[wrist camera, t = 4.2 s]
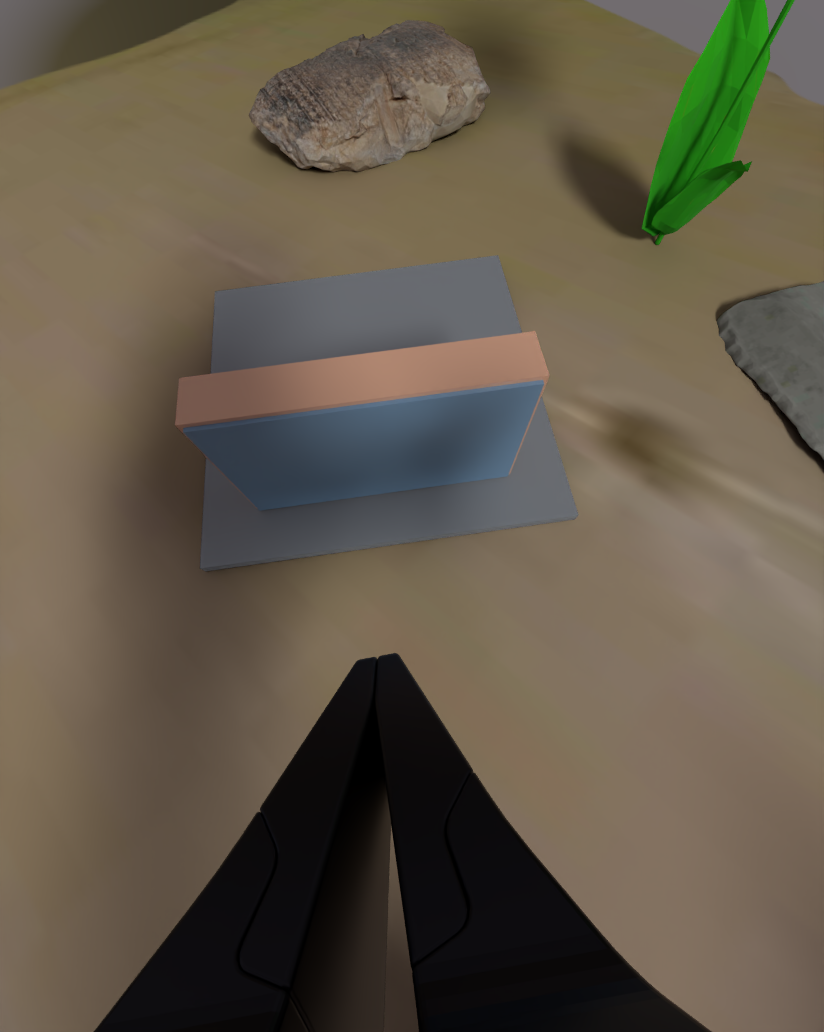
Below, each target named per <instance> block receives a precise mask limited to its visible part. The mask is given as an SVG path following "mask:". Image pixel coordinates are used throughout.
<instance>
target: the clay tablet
mask: <svg viewBox="0 0 824 1032" xmlns="http://www.w3.org/2000/svg"><path fill="white" fill-rule="evenodd" d="M444 31H445V29H444V28H443V27H441V26H438V25H435V24H432V23H429V22H425V21H411V20H407V21H405V22H403V23H401V24H395V25H392V26H390V27H388V28H387V29H385V30H383V32H382V33H381V34H379V35H378V36H375V37H372V38H371V39H368V38H365V36H364V34H362V35H360V36H358V37H356V36H355V37H352V38H349V40H348V41H344V42H340V43H339V44H337V45H335V46H333V47H331V48H328V49H326V51H325V52H323V53H321V54H320V55H318V56H316V57H314V58H313V59H307V60H304V61H303V62H302V63H300V64H298V65H296V66H293V67H291V68H287V69H284V70H282V71H280V72H278V73H277V74H276V75H275V76H274V77H272V78H271V79H270V80H269V81H268V82H267V84H266V86H265V87H264V88H262V89H260V91H259V93H258V95H257V97H256V100H255V103H254V105H253V107H252V109H251V111H250V113H249V117H250V119H251V121H252V123H253V124H254V125H255V126H256V127H257V128H258V129H259V130H260V131H261V132H262V133H263V135H264V136H265V137H266V138H267V139H268V140H269V141H270V142H271V143H273V144H275V145H277V146H278V147H279V148H280V150H281V151H283V152H284V153H285V154H286V155H287V156H288V157H289V158H290V159H291V160H292V161H293V162H294V163H295V164H296V165H297V166H298V167H300V168H302V169H309V168H311V167H313V166H315V167H318V168H320V169H322V170H330V171H332V172H335V171H341V170H348V171H363V170H366V169H370V168H373V167H377V166H380V165H382V164H387V163H390V162H393V161H397V160H400V159H401V158H402V157H403V156H404V155H405V154H407V153H408V152H414V151H418V150H421V149H423V148H426V147H428V146H429V144H430V143H431V141H434V140H436V139H439V138H441V137H444V136H446V135H448V134H450V133H452V132H454V131H456V130H458V129H460V128H461V127H462V126H464V125H467V124H470V123H472V122H474V121H476V120H477V119H478V117H479V116H480V115H481V113H482V112H483V111H484V109H485V104H484V100H485V99H486V98H487V96H488V95H489V94H490V89H489V87H488V86H487V84H486V82H485V79H484V77H483V76H482V74H481V71H480V68H479V65H478V63H477V60H476V57H475V53H474V51H473V48H472V47H470V46H468V45H466V44H463V43H461V42H459V41H458V40H456V39H455V38H453V37H451V36H449V35H447V34H446V33H444Z"/></svg>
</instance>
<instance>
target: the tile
mask: <svg viewBox="0 0 824 1032" xmlns="http://www.w3.org/2000/svg"><path fill="white" fill-rule="evenodd" d="M549 376H550V375H549V372H548V369H547V366H546V363H545V360H544V357H543V354H542V351H541V348H540V345H539V341H538V338H537V335H536V332H535V331H532V332H525V333H517V334H510V335H502V336H494V337H487V338H479V339H471V340H464V341H456V342H449V343H441V344H433V345H426V346H418V347H411V348H403V349H395V350H388V351H380V352H373V353H365V354H357V355H350V356H342V357H334V358H327V359H319V360H312V361H304V362H296V363H289V364H281V365H274V366H266V367H258V368H251V369H243V370H235V371H228V372H220V373H213V374H205V375H197V376H190V377H182V378H179V387H178V398H177V409H176V420H175V426H176V427H177V428H178V429H179V430H180V431H181V432H182V433H183V434H184V435H185V436H186V437H187V438H188V439H189V440H190V441H191V442H192V443H193V444H194V445H195V446H196V447H197V448H198V449H199V450H200V451H201V452H202V453H203V455H204V456H205V457H206V458H207V459H208V460H209V461H210V462H211V463H212V464H213V465H214V466H215V467H216V468H217V469H218V470H219V471H220V472H221V473H222V474H223V475H224V476H225V477H226V478H227V479H228V480H229V481H230V482H231V483H232V484H233V485H234V486H235V487H236V488H237V489H238V490H239V491H240V492H241V493H242V494H243V495H244V496H245V497H246V498H247V499H248V500H249V501H250V502H251V503H252V504H253V505H254V506H255V507H256V508H257V509H258V510H259V511H261V510H268V509H275V508H283V507H290V506H297V505H304V504H312V503H319V502H326V501H333V500H340V499H348V498H355V497H362V496H369V495H377V494H384V493H391V492H398V491H405V490H413V489H420V488H427V487H434V486H442V485H449V484H456V483H463V482H470V481H478V480H485V479H492V478H499V477H507V476H508V474H510V473H511V470H512V468H513V465H514V463H515V460H516V458H517V455H518V453H519V450H520V448H521V445H522V443H523V440H524V438H525V435H526V433H527V430H528V428H529V425H530V423H531V420H532V418H533V415H534V413H535V410H536V408H537V405H538V403H539V400H540V398H541V396H542V393H543V391H544V388H545V386H546V383H547V381H548V378H549Z"/></svg>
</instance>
